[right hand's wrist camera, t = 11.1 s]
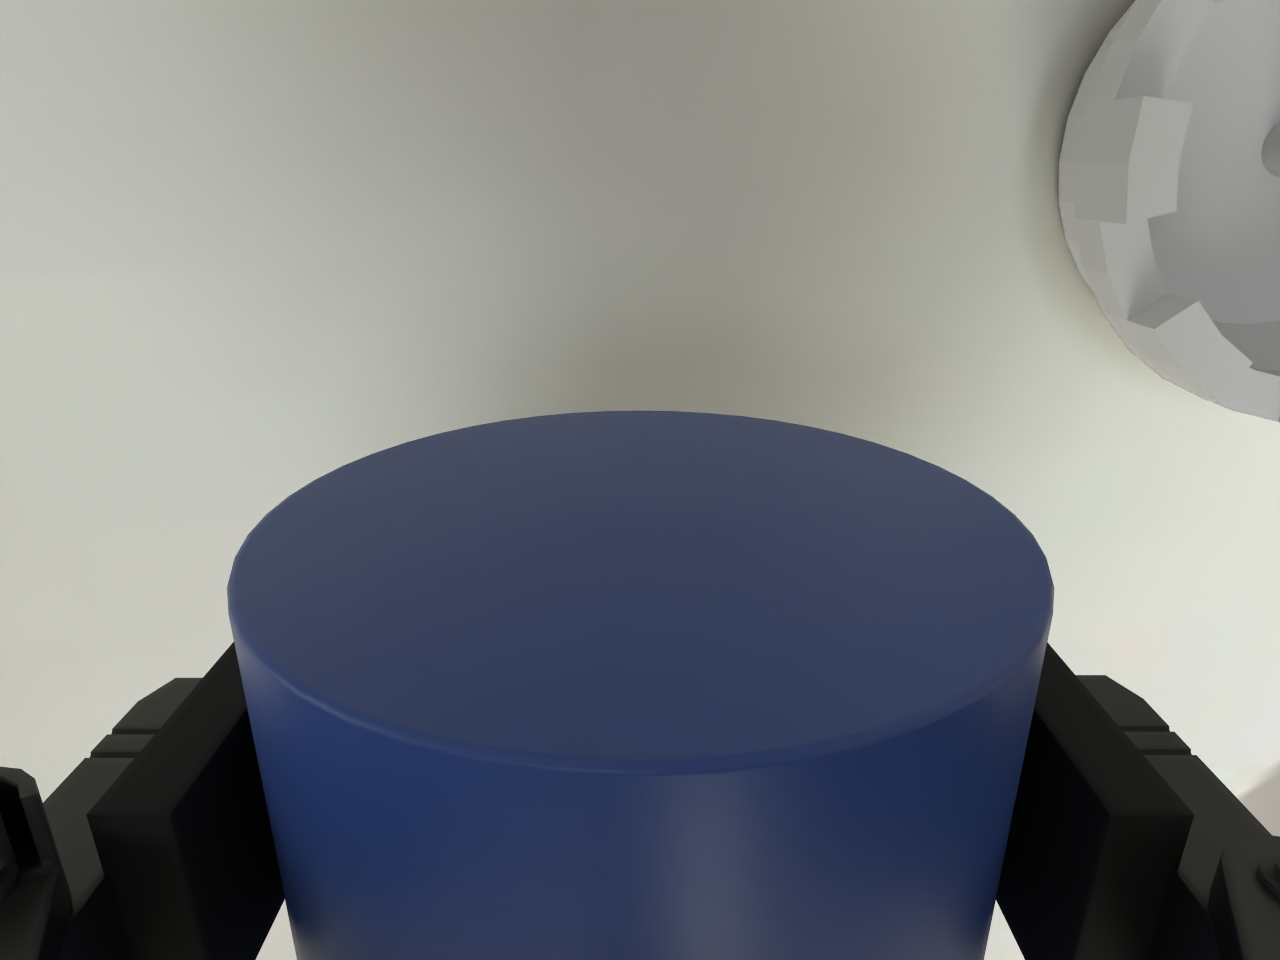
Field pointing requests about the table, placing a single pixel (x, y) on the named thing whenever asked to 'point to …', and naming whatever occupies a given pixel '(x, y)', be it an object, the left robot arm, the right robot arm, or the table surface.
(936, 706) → the rod
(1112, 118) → the flag stand
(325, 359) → the table surface
